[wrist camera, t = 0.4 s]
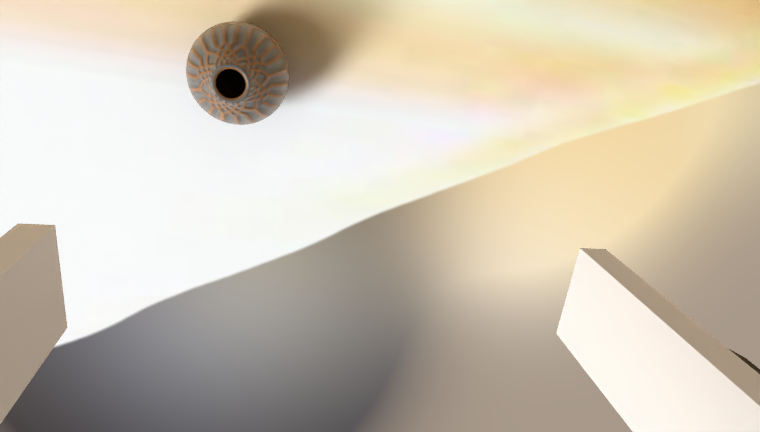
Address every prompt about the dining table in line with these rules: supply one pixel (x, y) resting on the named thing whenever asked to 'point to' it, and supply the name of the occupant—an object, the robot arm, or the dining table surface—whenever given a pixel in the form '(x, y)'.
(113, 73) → the dining table surface
